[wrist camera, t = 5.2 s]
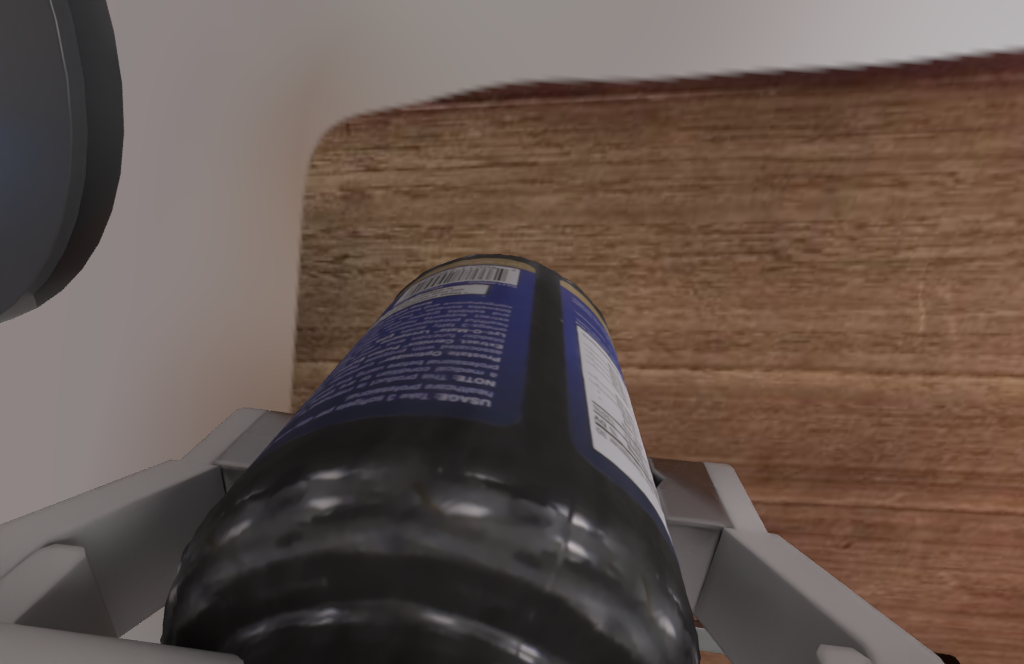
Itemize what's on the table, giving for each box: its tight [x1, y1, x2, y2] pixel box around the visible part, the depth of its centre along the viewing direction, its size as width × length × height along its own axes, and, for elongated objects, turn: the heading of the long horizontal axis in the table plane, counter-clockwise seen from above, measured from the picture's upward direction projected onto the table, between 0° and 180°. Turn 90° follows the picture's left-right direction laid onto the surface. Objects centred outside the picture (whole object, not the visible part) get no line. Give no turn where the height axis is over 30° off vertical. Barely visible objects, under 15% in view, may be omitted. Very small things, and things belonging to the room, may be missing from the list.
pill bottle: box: [160, 254, 701, 664], centre depth 8 cm, size 6×6×11 cm
